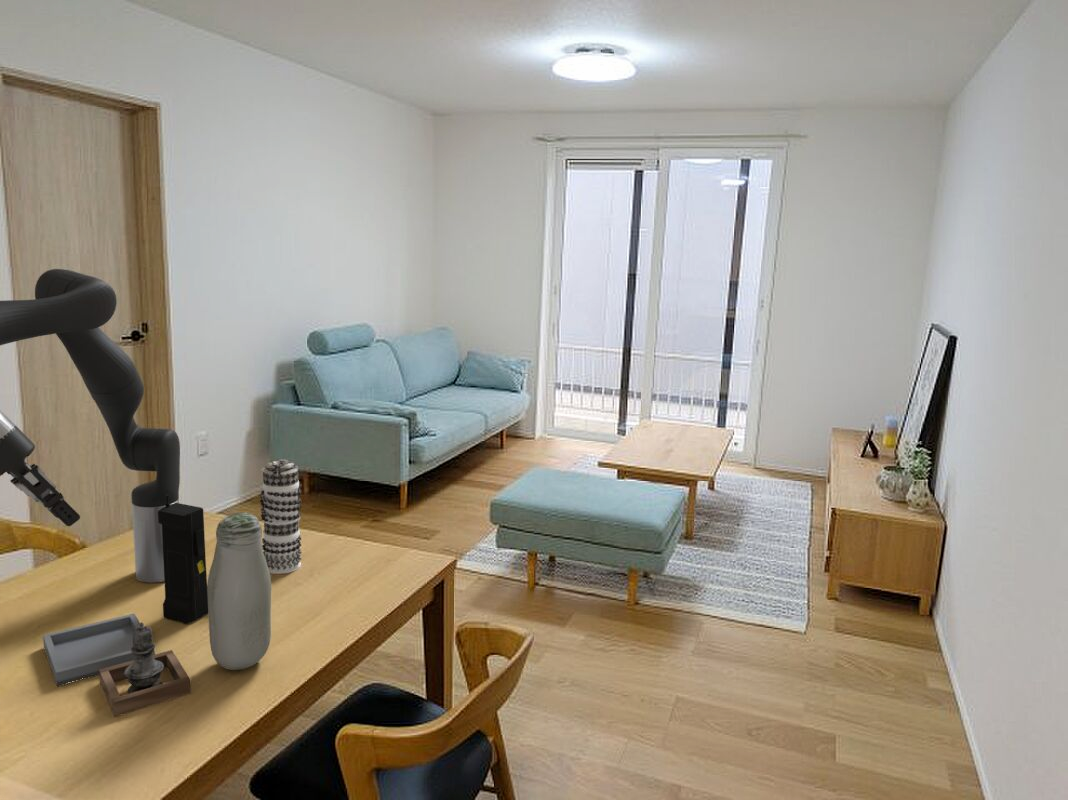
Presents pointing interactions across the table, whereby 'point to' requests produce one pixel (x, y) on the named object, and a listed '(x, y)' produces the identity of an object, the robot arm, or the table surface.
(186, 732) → the table surface
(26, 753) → the table surface
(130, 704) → the walnut collar
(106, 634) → the grey tray
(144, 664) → the dark grey chess piece
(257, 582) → the glass bottle
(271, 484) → the decorative candle
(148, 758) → the table surface
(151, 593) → the table surface
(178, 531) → the portable radio
